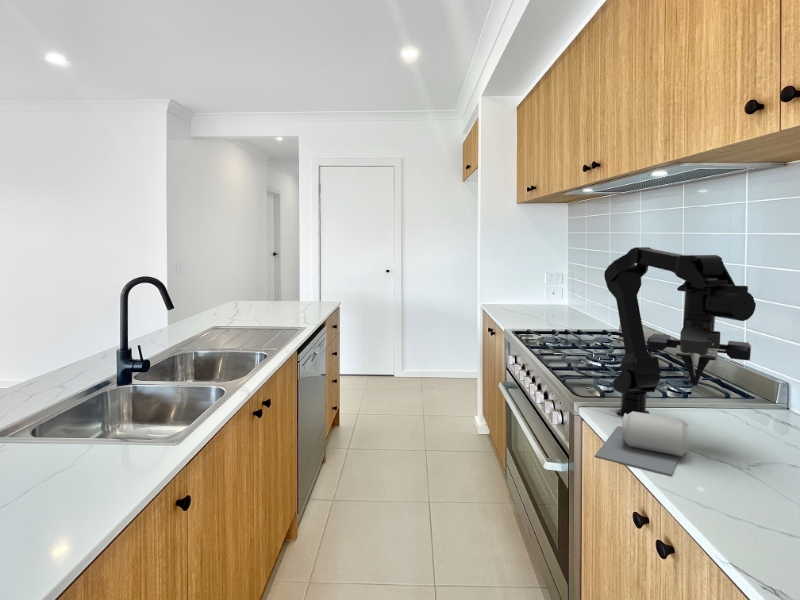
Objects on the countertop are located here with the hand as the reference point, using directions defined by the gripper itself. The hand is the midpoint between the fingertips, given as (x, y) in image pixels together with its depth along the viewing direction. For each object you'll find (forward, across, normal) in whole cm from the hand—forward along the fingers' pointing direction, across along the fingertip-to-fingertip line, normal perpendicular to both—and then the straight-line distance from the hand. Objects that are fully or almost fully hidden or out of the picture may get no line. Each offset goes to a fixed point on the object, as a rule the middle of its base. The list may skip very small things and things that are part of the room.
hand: (694, 385), depth 105 cm
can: (+9, 0, -9) cm, 13 cm away
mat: (+13, -8, -10) cm, 18 cm away
